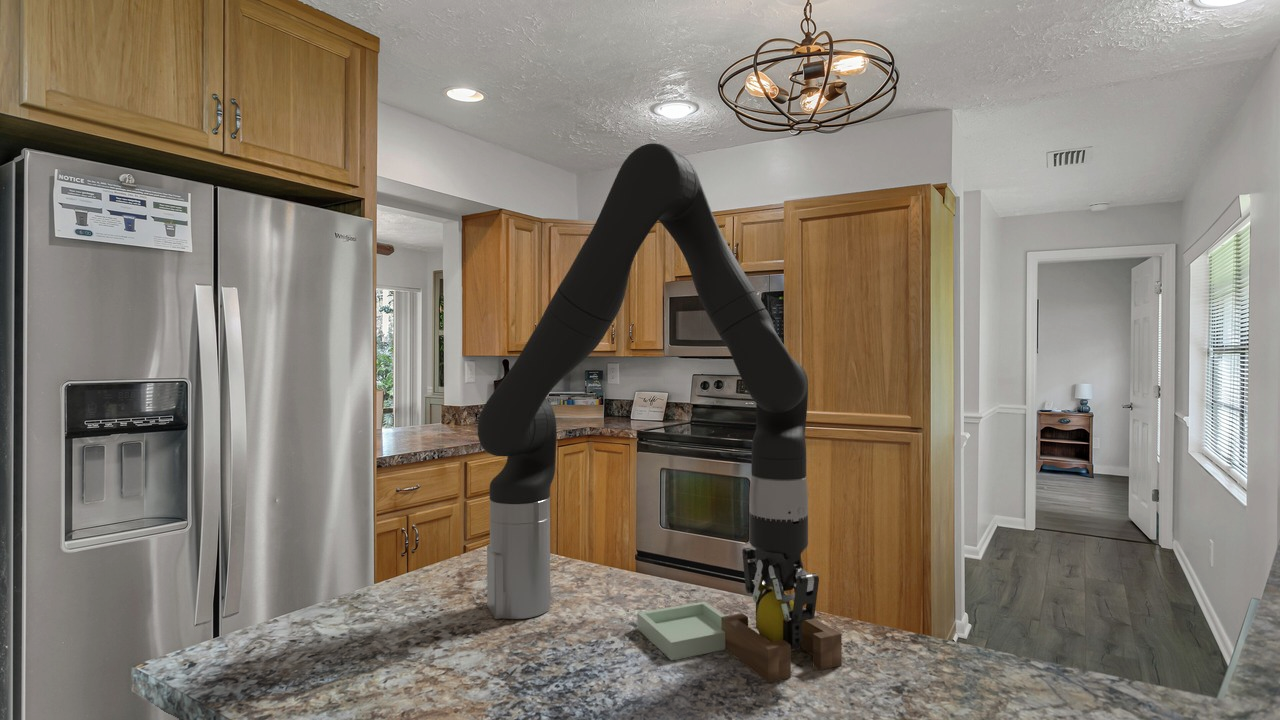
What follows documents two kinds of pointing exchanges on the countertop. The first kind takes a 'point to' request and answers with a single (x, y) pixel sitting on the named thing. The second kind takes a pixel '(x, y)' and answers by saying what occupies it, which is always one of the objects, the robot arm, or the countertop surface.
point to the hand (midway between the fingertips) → (777, 638)
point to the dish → (684, 629)
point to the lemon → (771, 617)
